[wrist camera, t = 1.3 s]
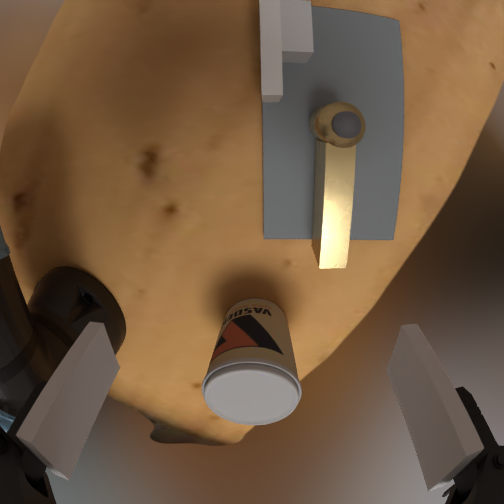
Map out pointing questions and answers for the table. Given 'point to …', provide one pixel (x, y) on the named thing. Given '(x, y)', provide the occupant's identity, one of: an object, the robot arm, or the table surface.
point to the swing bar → (333, 185)
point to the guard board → (324, 82)
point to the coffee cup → (253, 366)
